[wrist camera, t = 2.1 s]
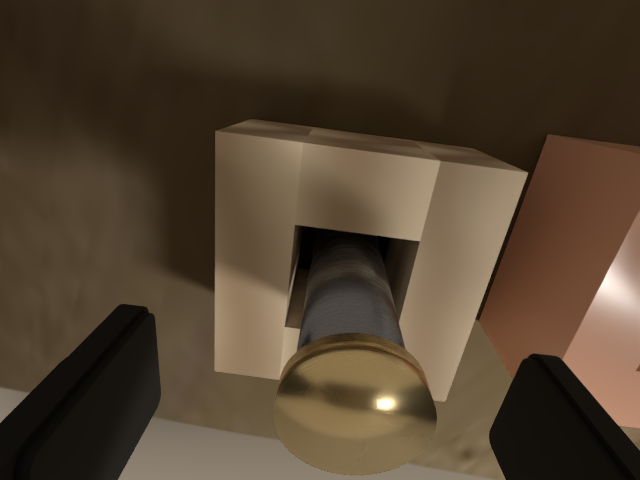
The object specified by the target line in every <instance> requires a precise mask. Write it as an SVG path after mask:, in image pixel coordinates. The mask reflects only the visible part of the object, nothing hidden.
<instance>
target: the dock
mask: <svg viewBox="0 0 640 480" xmlns="http://www.w3.org/2000/svg"><path fill="white" fill-rule="evenodd" d="M479 323H480V324H481V326H482V328H483V329H484V331H485V333H486V334H487V336H488V338H489V339H490V341H491V343H492V344H493V346H494V348H495V349H496V351H497V353H498V354H499V356H500V358H501V359H502V361H503V363H504V364H505V366H506V368H507V369H508V371H509V373H510V374H511V376H512V378H513V379H514V377H515V374H516V372H517V370H518V368H519V366H520V363H521V362H522V360H523V359H525V358H528V356H529V355H531V354H534V353H536V354H544V355H553V356H557V357H560V358H561V359H562V360H563V361H564V362H565V364H566V365H567V366H568V367H569V368H570V369H571V371H572V372H573V373H574V374H575V375H576V376H577V378H578V379H579V380H580V381H581V382H582V384H583V385H584V386H585V387H586V388H587V389H588V391H589V392H590V393H591V394H592V395H593V396H594V398H595V399H596V400H597V401H598V402H599V403H600V405H601V406H602V407H603V408H604V409H605V411H606V412H607V413H608V414H609V415H610V416H611V418H612V419H613V420H614V421H615V422H616V423H617V425H620V426H628V427H635V428H640V146H632V145H625V144H617V143H610V142H602V141H595V140H587V139H580V138H572V137H565V136H557V135H550V134H548V135H547V138H546V141H545V143H544V146H543V149H542V152H541V154H540V157H539V160H538V162H537V165H536V168H535V170H534V173H533V176H532V179H531V181H530V184H529V187H528V189H527V192H526V195H525V198H524V200H523V203H522V206H521V208H520V211H519V214H518V216H517V219H516V222H515V225H514V227H513V230H512V233H511V235H510V238H509V241H508V243H507V246H506V249H505V252H504V254H503V257H502V260H501V262H500V265H499V268H498V271H497V273H496V276H495V279H494V281H493V284H492V287H491V289H490V292H489V295H488V298H487V300H486V303H485V306H484V308H483V311H482V314H481V316H480V319H479Z"/></svg>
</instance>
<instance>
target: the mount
mask: <svg viewBox="0 0 640 480" xmlns="http://www.w3.org/2000/svg"><path fill="white" fill-rule="evenodd" d="M527 175H528V172H526V171H523V170H521V169H519V168H517V167H514V166H512V165H510V164H507V163H505V162H503V161H501V160H498V159H496V158H494V157H492V156H489V155H487V154H485V153H482V152H480V151H478V150H476V149H473V148H466V147H459V146H451V145H444V144H436V143H429V142H421V141H414V140H406V139H399V138H391V137H384V136H376V135H369V134H361V133H354V132H346V131H339V130H331V129H324V128H316V127H309V126H301V125H294V124H286V123H279V122H271V121H264V120H256V119H250V120H247V121H244V122H241V123H238V124H235V125H232V126H229V127H226V128H223V129H220V130H217V131H215V371H217V372H224V373H232V374H240V375H247V376H255V377H262V378H270V379H277V380H279V379H280V375H281V373H282V370H283V368H284V366H285V365H286V363H287V361H288V360H289V359H290V358H291V357H292V356H293V355H294V354H295V353H296V352H297V346H298V340H299V333H300V327H301V321H302V315H303V309H304V303H305V297H306V291H307V285H308V279H309V272H310V270H308V269H300V268H298V266H299V257H300V247H301V238H302V229H303V226H309V227H316V228H324V229H331V230H339V231H346V232H354V233H361V234H369V235H376V236H384V237H390V238H389V243H388V247H387V252H386V257H385V261H384V266H385V270H386V274H387V278H388V282H389V286H390V290H391V294H392V297H393V301H394V305H395V309H396V313H397V317H398V321H399V325H400V329H401V333H402V337H403V340H404V344H405V348H406V350H407V351H408V352H409V353H411V354H412V355H413V357H414V358H415V359H416V360H417V361H418V362H419V364H420V365H421V367H422V369H423V371H424V373H425V375H426V379H427V382H428V385H429V388H430V392H431V395H432V398H433V400H436V401H443V402H445V401H446V398H447V395H448V392H449V390H450V387H451V384H452V381H453V379H454V376H455V373H456V370H457V368H458V365H459V362H460V359H461V357H462V354H463V351H464V348H465V346H466V343H467V340H468V337H469V335H470V332H471V329H472V326H473V324H474V321H475V318H476V315H477V313H478V310H479V307H480V304H481V302H482V299H483V296H484V293H485V291H486V288H487V285H488V282H489V280H490V277H491V274H492V271H493V269H494V266H495V263H496V260H497V258H498V255H499V252H500V249H501V247H502V244H503V241H504V238H505V236H506V233H507V230H508V227H509V225H510V222H511V219H512V216H513V214H514V211H515V208H516V205H517V203H518V200H519V197H520V195H521V192H522V189H523V186H524V184H525V181H526V178H527Z"/></svg>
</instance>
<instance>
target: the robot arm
mask: <svg viewBox="0 0 640 480" xmlns="http://www.w3.org/2000/svg"><path fill="white" fill-rule="evenodd" d="M160 397H161V387H160V375H159V362H158V350H157V338H156V325H155V316H154V314H152V313H149V311H148V309H147V307H144V306H135V305H127V304H121V305H119V306H118V307H117V308H116V309H115V310H114V311H113V312H112V313H111V314H110V315H109V316H108V317H107V318H106V319H105V320H104V321H103V322H102V323H101V324H100V325H99V326H98V327H97V328H96V329H95V330H94V331H93V332H92V333H91V334H90V335H89V336H88V337H87V338H86V339H85V340H84V341H83V342H82V343H81V344H80V345H79V346H78V347H77V348H76V349H75V350H74V351H73V352H72V353H71V354H70V355H69V356H68V357H67V358H65V359H64V360H63V361H62V362H60V363H59V364H58V365H57V366H56V368H55V369H54V370H53V371H52V372H51V373H50V374H49V375H48V376H47V377H46V378H45V379H44V380H43V381H42V382H41V383H40V384H39V385H38V386H37V387H36V388H35V389H34V390H33V391H32V392H31V393H30V394H29V395H28V396H27V397H26V398H25V399H24V400H23V401H22V402H21V403H20V404H19V405H18V406H17V407H16V408H15V409H14V410H13V411H12V412H11V413H10V414H9V415H8V416H7V417H6V418H5V419H4V420H3V421H2V422H1V423H0V480H118V478H119V476H120V474H121V473H122V471H123V469H124V467H125V465H126V464H127V462H128V460H129V458H130V456H131V455H132V452H133V451H134V449H135V447H136V445H137V444H138V442H139V440H140V438H141V436H142V434H143V433H144V431H145V429H146V427H147V425H148V424H149V422H150V420H151V418H152V416H153V414H154V413H155V411H156V409H157V407H158V404H159V401H160ZM489 440H490V444H491V447H492V449H493V452H494V454H495V456H496V458H497V461H498V463H499V465H500V467H501V470H502V472H503V474H504V476H505V479H506V480H640V451H639V449H638V448H637V447H636V446H635V445H634V443H633V442H632V441H631V440H630V439H629V438H628V436H627V435H626V434H625V433H624V432H623V431H622V429H621V428H620V427H619V426H618V425H617V423H616V422H615V421H614V420H613V419H612V418H611V416H610V415H609V414H608V413H607V412H606V411H605V409H604V408H603V407H602V406H601V405H600V403H599V402H598V401H597V400H596V399H595V398H594V396H593V395H592V394H591V393H590V392H589V391H588V389H587V388H586V387H585V386H584V385H583V384H582V382H581V381H580V380H579V379H578V378H577V376H576V375H575V374H574V373H573V372H572V371H571V369H570V368H569V367H568V366H567V365H566V364H565V362H564V361H563V360H562V359H561V358H560V357H557V356H553V355H544V354H536V353H534V354H531V355H529V356H528V358H525V359H523V360H522V362H521V363H520V366H519V368H518V370H517V372H516V374H515V377H514V379H513V381H512V383H511V385H510V388H509V390H508V392H507V394H506V396H505V399H504V401H503V403H502V405H501V407H500V410H499V412H498V414H497V416H496V418H495V421H494V423H493V425H492V427H491V429H490V433H489Z"/></svg>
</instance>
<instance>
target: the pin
mask: <svg viewBox="0 0 640 480" xmlns="http://www.w3.org/2000/svg"><path fill="white" fill-rule="evenodd" d="M436 421H437V415H436V408H435V405H434V402H433V398H432V395H431V392H430V388H429V385H428V382H427V379H426V375H425V373H424V371H423V369H422V367H421V365H420V364H419V362H418V361H417V360H416V359H415V358H414V357H413V355H412V354H411V353H409V352H408V351H407V350H406V348H405V344H404V340H403V337H402V333H401V329H400V325H399V321H398V317H397V313H396V309H395V305H394V301H393V297H392V294H391V290H390V286H389V282H388V278H387V274H386V270H385V266H384V262H383V258H382V255H381V251H380V247H379V243H378V239H377V236H376V235H369V234H361V233H354V232H346V231H339V230H331V229H324V228H317V230H316V236H315V242H314V248H313V254H312V260H311V266H310V272H309V279H308V285H307V291H306V297H305V303H304V309H303V315H302V321H301V327H300V333H299V340H298V346H297V352H296V353H295V354H294V355H293V356H292V357H291V358H290V359H289V360H288V361H287V363H286V365H285V366H284V368H283V370H282V373H281V375H280V379H279V384H278V389H277V394H276V399H275V403H274V409H273V422H274V427H275V430H276V433H277V435H278V437H279V439H280V440H281V442H282V443H283V444H284V446H285V447H286V448H287V449H288V450H289V451H290V452H291V453H292V454H293V455H295V456H296V457H297V458H299V459H300V460H302V461H304V462H305V463H307V464H309V465H311V466H313V467H315V468H318V469H321V470H324V471H327V472H331V473H336V474H342V475H371V474H377V473H382V472H385V471H389V470H392V469H395V468H397V467H400V466H402V465H404V464H406V463H407V462H409V461H411V460H412V459H414V458H415V457H416V456H417V455H419V454H420V453H421V452H422V451H423V450H424V449H425V448H426V446H427V445H428V443H429V442H430V440H431V439H432V436H433V434H434V431H435V428H436Z"/></svg>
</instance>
